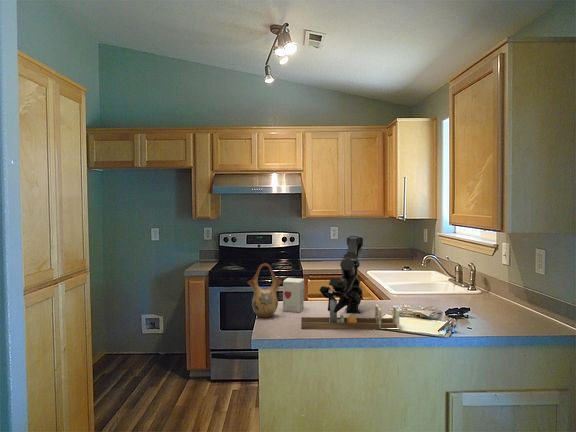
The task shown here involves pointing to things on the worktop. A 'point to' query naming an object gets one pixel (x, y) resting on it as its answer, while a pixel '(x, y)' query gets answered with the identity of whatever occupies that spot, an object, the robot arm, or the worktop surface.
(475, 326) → the worktop surface
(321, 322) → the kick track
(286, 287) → the supplement box
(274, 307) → the ceramic vessel
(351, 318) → the orange ball
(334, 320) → the striker sled
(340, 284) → the robot arm
